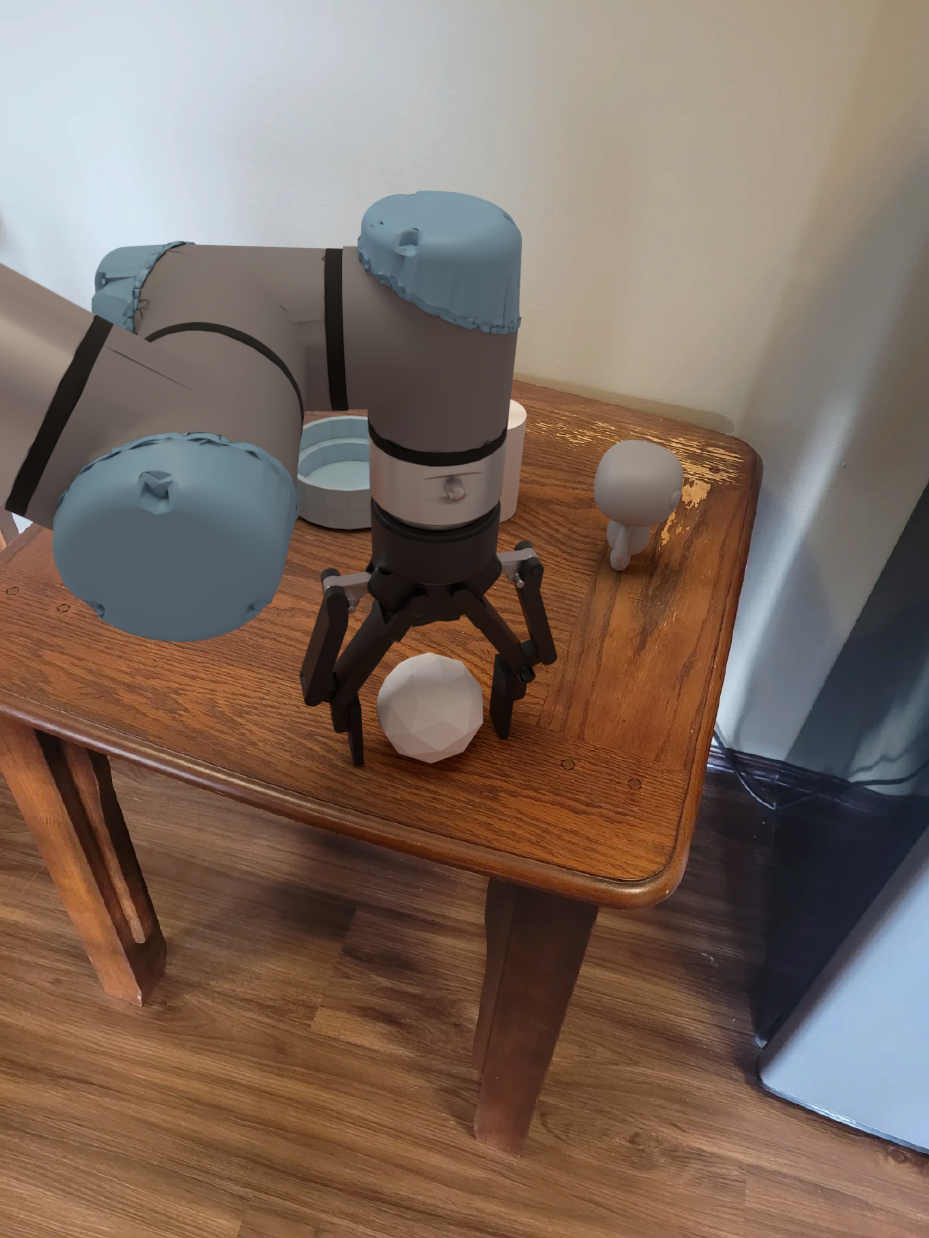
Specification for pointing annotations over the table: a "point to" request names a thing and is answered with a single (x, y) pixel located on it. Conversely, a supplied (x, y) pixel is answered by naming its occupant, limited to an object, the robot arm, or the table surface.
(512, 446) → the candle
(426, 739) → the geometric ball
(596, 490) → the figurine
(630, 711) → the table surface
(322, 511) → the bowl
